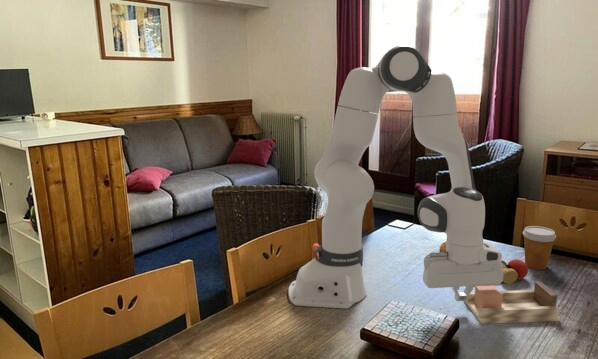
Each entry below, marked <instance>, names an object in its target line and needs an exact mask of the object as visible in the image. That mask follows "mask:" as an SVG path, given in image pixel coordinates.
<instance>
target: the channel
mask: <svg viewBox="0 0 598 359" xmlns="http://www.w3.org/2000/svg"><path fill="white" fill-rule="evenodd" d="M499 291H500V292H501V293H502V294H503V297H502V307H501V308H481V309H479V308H478V307H477V306H476V305H475V304H474V298H475V291H471V293H470V294H469V295H468V301H463V302H464V303H465V304H466V306H467V307H468V308H469V310H470V311H471V312H472V314H473V315H474V316H475V317H476V319H477V321H479V322H480V324H481V325H483V324H485V325H487V324H489V325H491V324H508V323H509V324H513V323H516V324H517V323H536V322H537V323H539V322H541V323H542V322H543V323H544V322H545V323H546V322H560V321H561V317H560V316H559V308H560V307H558V306H557V302H558V300H557V299H558V294H556V293H555V292H554V291H553V290H552V289H551V288H549V287H548V286H547V285H545V284H544V283H543V282H542V281H535V282H534V288H533V289H528V290H527V289H526V290H525V289H524V290H522V289H521V290H520V289H519V290H499Z"/></svg>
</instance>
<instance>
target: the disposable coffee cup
mask: <svg viewBox="0 0 598 359" xmlns="http://www.w3.org/2000/svg"><path fill="white" fill-rule="evenodd" d="M522 236H523V241H524V242H523V245H524V247H523V248H524V262H525V263H526V265H527V267H528V268H530V269H534V270H545V269H547V267H548V264H549V260H550V257H551V254H552V250H553V246H554V242H555V240H556V238H557V235H556V232H555V230H553V229H552V228H549V227H544V226H539V225H531V226H530V225H529V226H526V227H525V228H524V229H523V231H522Z"/></svg>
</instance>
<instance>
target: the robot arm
mask: <svg viewBox="0 0 598 359" xmlns="http://www.w3.org/2000/svg"><path fill="white" fill-rule="evenodd" d="M391 92H392V93H394V92H405V93H407V95H408V96H409V98H410V101H411V105H412V123H413V124H412V125H413V126H412V127H413V131H414V135H415V138H416V139H417V141H418V142H419V143H420V144H421V145H423V147H425V148H427V149H429V150H432V151H434V152H438V153H440V154H441V155H442V156H443V157H444V159H446V162H447V165H448V171H449V178H450V183H451V189H450V191H448V192H444V193H438V194H433V195H429V196H427V197H424V198H422V199H421V200H420V202H419V204H418V206H417V207H418V208H417V218H418V221H419V223H420V225H421V226H422V227H423V228H424V229H425V230H428V231H429V232H433V233H434V232H435V233H444V234H445V235H446V241H447V242H446V241H445V242H446V252H439V251H438V252H430V253H428V254H427V255H425V257H423V267H424V268H423V274H422V281H423V284H424V285H425V286H426V287H427V288H428V289H441V288H443V289H444V288H451V289H452V291H453V292H454V301H456V302H464V301H468V295H469V294H470V293H471V292H473V290H474V287H475V286H492V285H494V286H496V285H500V284H501V283H502V282H503V264H502V262H501V261H500V260H502V259H503V258H502V257H503V254H502V252H501V251H500V250H499V249H497V248H496V247H495V246H493V245H492V244H491V243H488V242H487V243H486V242H484V238H483V231H484V228H485V224H486V223H485V222H486V220H485V219H486V205H485V200H484V196H483V195H482V193H481V192H479V191H478V190H477V188H476V185H475V180H474V174H473V168H472V167H473V165H472V161H471V154H470V149H469V146H468V142H467V140H466V137H465V136H464V135H463V133H462V131H461V129H460V125H459V120H458V110H457V109H458V108H457V106H458V105H457V100H456V94H455V88H454V84H453V81H452V78H451V77H450V76H449V74H447V73H444V72H442V71H432V68H431V67H430V65H429V64H428V63H427V60H426V59H425V57H424V56H423V55H422V53H421V52H419V50H417V49H416V48H415V47H413V46H410V45H408V44H407V45H405V44H404V45H397V46H394V47H393V48H391V49H389V50H387V52H386V53H385V54H384V55H383V56H382V57H381V59H379V62H378V63H377V65H376V66H374V67H364V66H361V67H357V68H354V69H352V70H350V71H349V73H348V75H347V76H346V79H345V81H344V84H343V87H342V90H341V91H340V96H339V100H338V103H337V107H336V113H335V115H334V121H333V125H332V129H331V132H330V136H329V139H328V142H327V143H326V146H325V149H324V151H323V153H322V155H321V157H320V159H319V161H318V162H317V163H316V165H315V167H314V172H313V174H314V179H315V181H316V183H317V184H316V185H317V186H318V187H319V189H321V191H323V192H324V193H325V194H326V195H327V196H326V197H327V207H326V210H325V214H324V217H323V218H322V220H321V243H322V244H321V245H319V243H316V242H315V243H313V245H312V250H313V252H314V258H312V260H310V261H308V262H307V263H306V264H304V265H303V266H301V267H300V268H299V269H298V272H297V274H296V278H295V279H296V280H294V281H292V282H291V283H290V285H289V286H288V291H287V292H288V294H287V295H288V299H289V301H290V302H291V303H292V304H293V305H295V306H300V307H314V308H315V307H316V308H333V309H349V308H351V307H352V306H353V305H354V304H356V303H358V302H360V301H362V300H363V299H365V298H366V296H367V290H366V286H365V281H364V275H363V264H364V248H363V245H362V237H363V236H362V233H363V232H362V228H363V219H364V213H365V210H366V206H367V203H369V201H370V200H371V199H372V197H373V195H374V192H375V184H374V180H373V179H372V176H370V174H369V173H368V172H367V171H366V170H365V169H364V168H363V167H362V166H360V165H359V164H360V162H361V159H362V157H363V155H364V153H365V151H366V150H367V148H368V147H369V146H371V145H372V142H373V138H374V134H375V130H376V125H377V121H378V117H379V113H380V109H381V104H382V101H383V99H384V96H385V95H386V94H387V93H391ZM460 287H461V288H462V287H465V289H463V291H461V292H460V291H459V290H460Z"/></svg>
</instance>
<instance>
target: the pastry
mask: <svg viewBox="0 0 598 359" xmlns="http://www.w3.org/2000/svg"><path fill="white" fill-rule="evenodd" d="M446 242H447V240H446V241H444V242H442V243H441V244H440V246H439V250H438V253H439V252H446Z"/></svg>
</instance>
